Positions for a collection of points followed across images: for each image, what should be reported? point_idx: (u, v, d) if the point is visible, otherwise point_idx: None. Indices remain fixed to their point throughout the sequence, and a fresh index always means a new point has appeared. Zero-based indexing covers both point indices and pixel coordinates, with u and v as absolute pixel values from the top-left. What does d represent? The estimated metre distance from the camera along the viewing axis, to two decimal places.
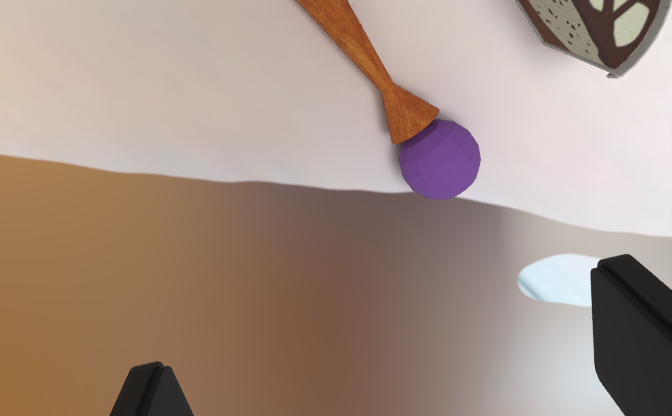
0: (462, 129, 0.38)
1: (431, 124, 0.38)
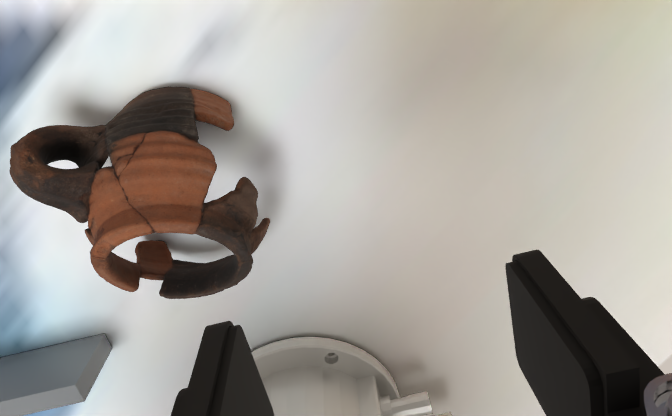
0: None
1: None
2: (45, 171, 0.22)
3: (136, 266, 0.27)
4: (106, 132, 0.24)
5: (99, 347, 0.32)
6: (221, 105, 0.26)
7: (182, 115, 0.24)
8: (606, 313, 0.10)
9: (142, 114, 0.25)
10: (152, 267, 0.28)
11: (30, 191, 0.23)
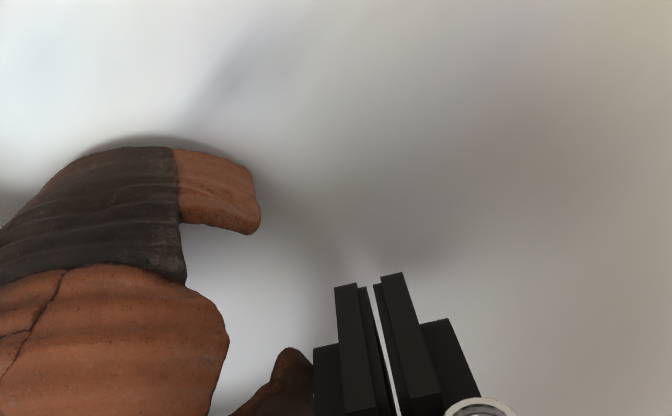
0: None
1: None
2: None
3: None
4: None
5: None
6: (234, 181, 0.13)
7: (151, 220, 0.11)
8: (454, 335, 0.11)
9: (66, 215, 0.11)
10: None
11: None
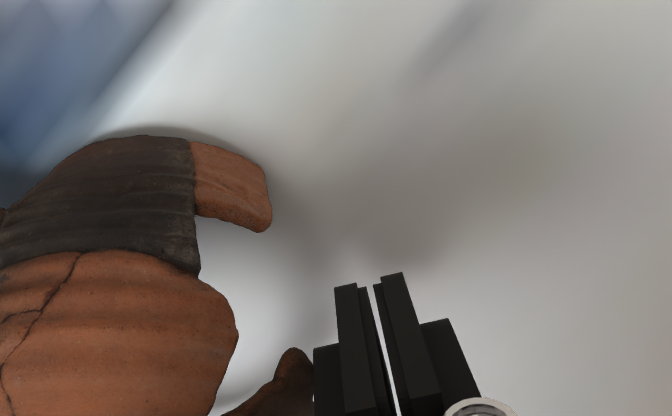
0: None
1: None
2: None
3: None
4: None
5: None
6: (248, 178, 0.13)
7: (168, 210, 0.11)
8: (454, 335, 0.11)
9: (80, 198, 0.11)
10: None
11: None
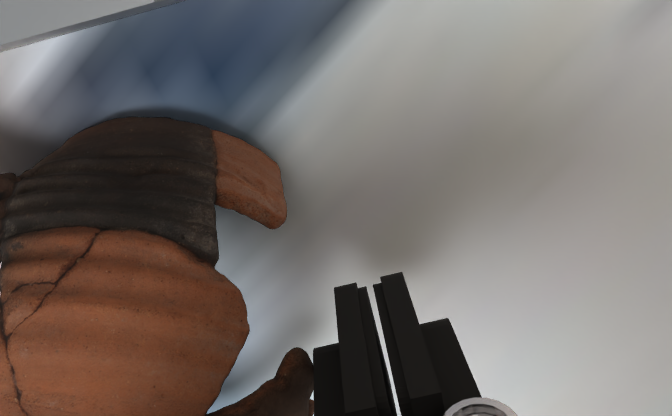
0: None
1: None
2: None
3: None
4: (11, 201, 0.11)
5: None
6: (266, 173, 0.13)
7: (190, 196, 0.11)
8: (454, 334, 0.11)
9: (100, 174, 0.11)
10: None
11: None
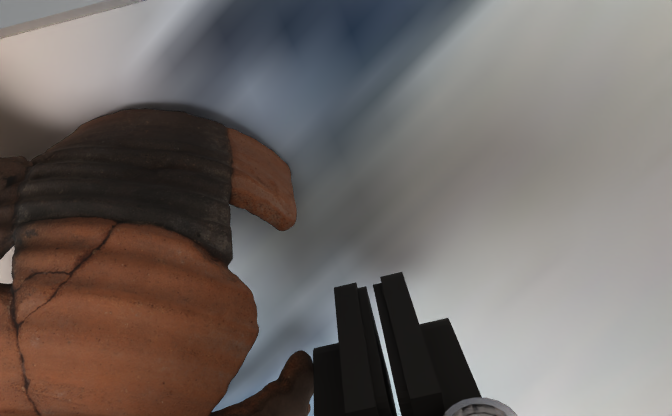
0: None
1: None
2: None
3: None
4: (24, 186, 0.11)
5: None
6: (278, 175, 0.13)
7: (206, 194, 0.11)
8: (454, 335, 0.11)
9: (116, 165, 0.11)
10: None
11: None
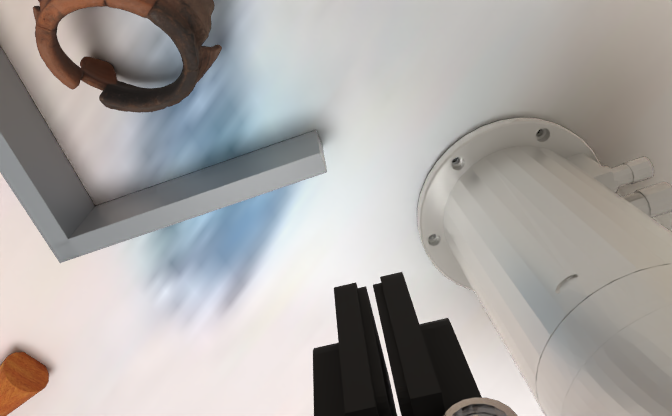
0: None
1: None
2: None
3: (79, 67, 0.27)
4: None
5: (318, 137, 0.32)
6: None
7: None
8: (454, 335, 0.11)
9: None
10: (96, 77, 0.28)
11: None
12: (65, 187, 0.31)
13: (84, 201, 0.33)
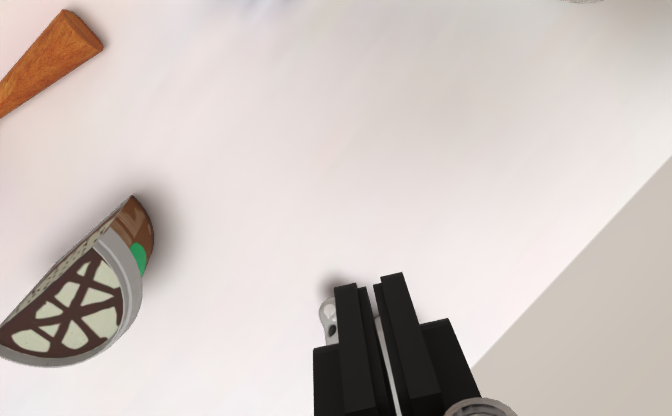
0: None
1: None
2: None
3: None
4: None
5: None
6: None
7: None
8: (454, 335, 0.11)
9: None
10: None
11: None
12: None
13: None
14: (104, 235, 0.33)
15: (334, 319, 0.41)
